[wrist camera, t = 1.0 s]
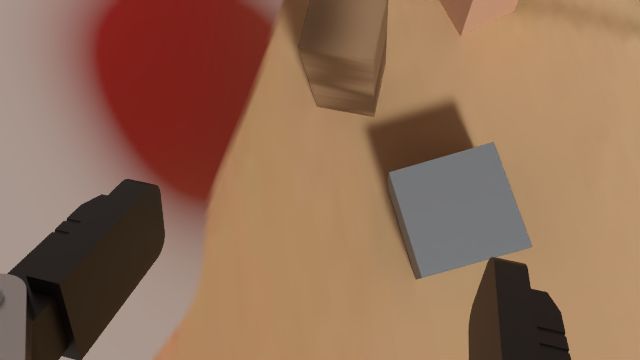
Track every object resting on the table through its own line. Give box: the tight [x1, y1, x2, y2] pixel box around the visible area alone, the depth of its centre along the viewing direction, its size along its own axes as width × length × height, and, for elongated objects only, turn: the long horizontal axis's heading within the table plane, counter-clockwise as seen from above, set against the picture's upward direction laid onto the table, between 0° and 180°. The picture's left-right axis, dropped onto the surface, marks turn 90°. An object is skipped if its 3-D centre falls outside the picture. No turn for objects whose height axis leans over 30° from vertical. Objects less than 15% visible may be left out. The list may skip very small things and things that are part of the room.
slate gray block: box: [387, 142, 532, 279], centre depth 35 cm, size 7×7×5 cm
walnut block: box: [298, 0, 388, 117], centre depth 35 cm, size 4×4×10 cm
